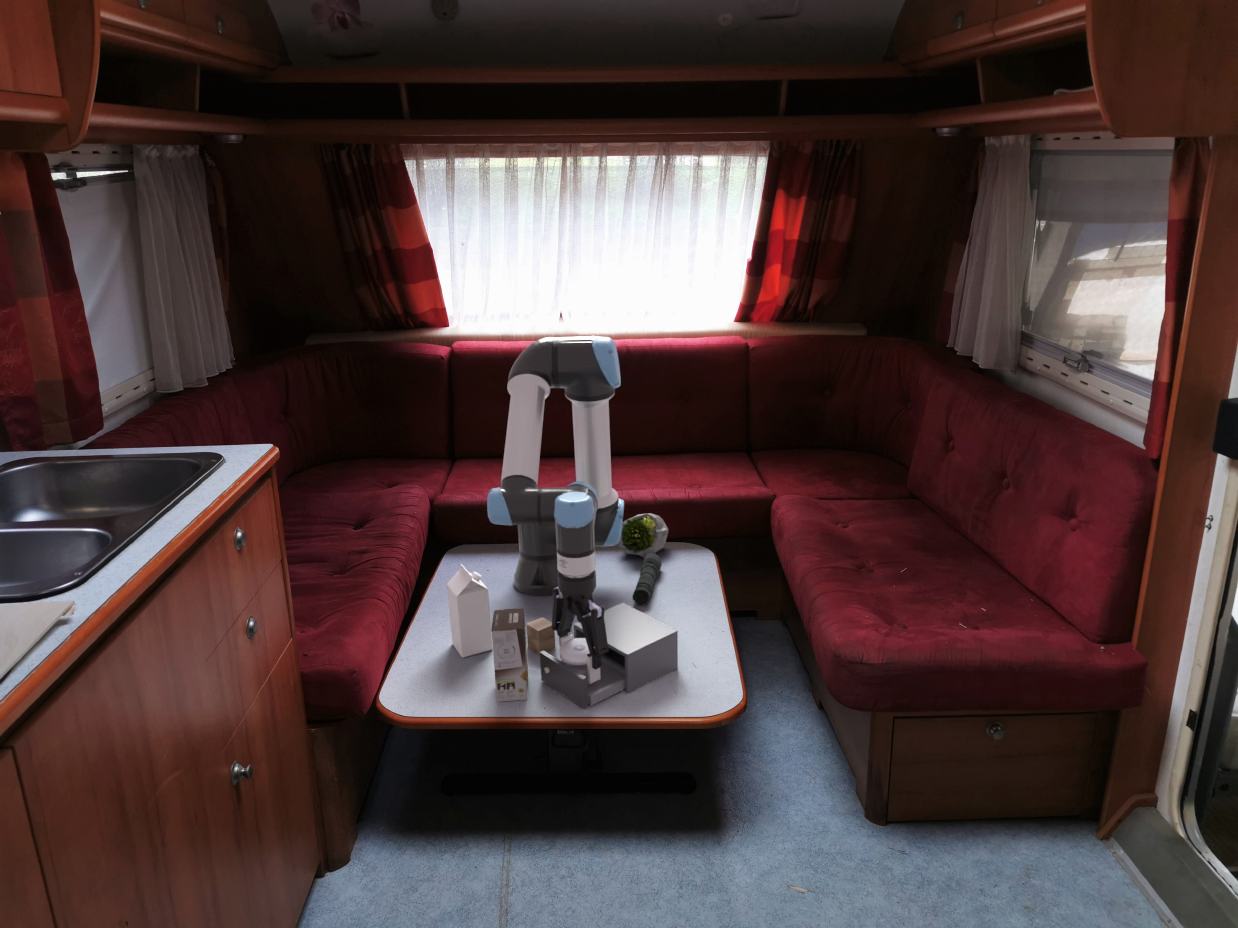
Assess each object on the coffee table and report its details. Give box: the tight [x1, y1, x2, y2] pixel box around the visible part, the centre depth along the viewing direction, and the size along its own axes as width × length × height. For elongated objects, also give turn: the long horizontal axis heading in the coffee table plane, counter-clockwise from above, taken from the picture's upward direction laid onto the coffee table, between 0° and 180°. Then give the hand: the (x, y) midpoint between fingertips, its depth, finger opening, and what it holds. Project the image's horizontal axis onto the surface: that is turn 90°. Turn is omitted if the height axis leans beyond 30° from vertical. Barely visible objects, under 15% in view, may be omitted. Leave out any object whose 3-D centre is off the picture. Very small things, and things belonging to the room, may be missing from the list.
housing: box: [573, 602, 679, 695], centre depth 192 cm, size 17×14×9 cm
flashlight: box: [631, 553, 663, 606], centre depth 227 cm, size 5×21×5 cm, turn 170°
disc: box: [559, 638, 595, 665], centre depth 183 cm, size 8×8×2 cm
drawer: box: [539, 651, 625, 709], centre depth 185 cm, size 15×14×7 cm
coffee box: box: [491, 607, 529, 702], centre depth 183 cm, size 9×6×16 cm
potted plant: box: [618, 512, 669, 559], centre depth 244 cm, size 12×13×15 cm
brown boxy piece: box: [525, 617, 557, 656], centre depth 199 cm, size 4×4×6 cm
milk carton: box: [446, 563, 493, 658], centre depth 198 cm, size 7×7×19 cm
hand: (580, 672), depth 184 cm, fingers closed on disc, 8 cm apart
